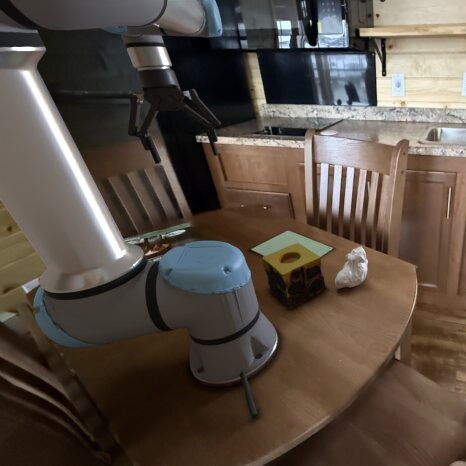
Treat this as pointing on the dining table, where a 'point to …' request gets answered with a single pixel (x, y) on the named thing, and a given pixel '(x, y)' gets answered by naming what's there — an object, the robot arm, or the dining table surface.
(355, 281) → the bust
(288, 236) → the napkin
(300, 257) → the yellow and black cube
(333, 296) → the dining table surface
